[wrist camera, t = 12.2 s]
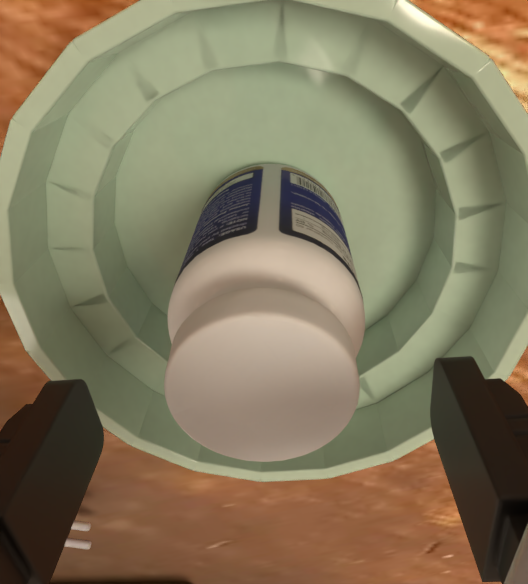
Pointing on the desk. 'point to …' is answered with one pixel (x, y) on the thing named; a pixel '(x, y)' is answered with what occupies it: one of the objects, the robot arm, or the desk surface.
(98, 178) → the ceramic bowl
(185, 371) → the pill bottle
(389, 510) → the desk surface
